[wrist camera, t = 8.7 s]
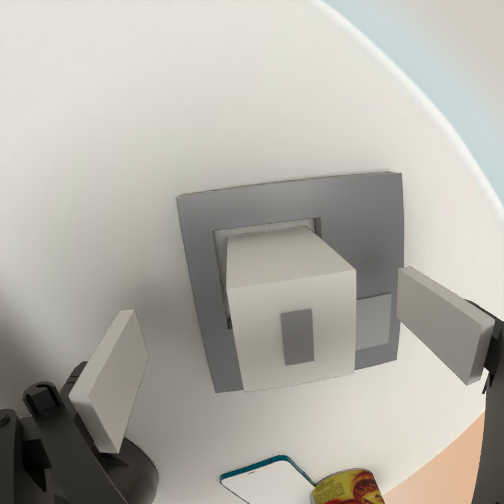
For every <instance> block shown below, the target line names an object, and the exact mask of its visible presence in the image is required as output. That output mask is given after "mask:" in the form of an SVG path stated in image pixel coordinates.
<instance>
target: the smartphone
mask: <svg viewBox="0 0 504 504" xmlns="http://www.w3.org/2000/svg"><path fill="white" fill-rule="evenodd" d="M220 484H222V485H223V486H224V487H225V488H227V489H228V490H230V491H231V492H232V493H234V494H235V495H237V496H238V497H239V498H241V499H242V500H244V501H245V502H247V503H248V504H311V502H310V494H311V492H312V491H313V490H314V489H315V488H316V485H315V483H314V482H313V481H312V480H311V479H310V478H309V477H308V476H307V475H306V474H305V473H304V472H303V471H302V470H301V469H300V468H299V467H298V466H297V465H296V464H295V463H294V462H293V461H292V460H291V459H290V458H289V457H288V456H285V455H278V456H275V457H272V458H269V459H267V460H264V461H261V462H258V463H256V464H253V465H250V466H247V467H244V468H241V469H238V470H235V471H232V472H228V473H225V474H223V475H221V476H220Z"/></svg>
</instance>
